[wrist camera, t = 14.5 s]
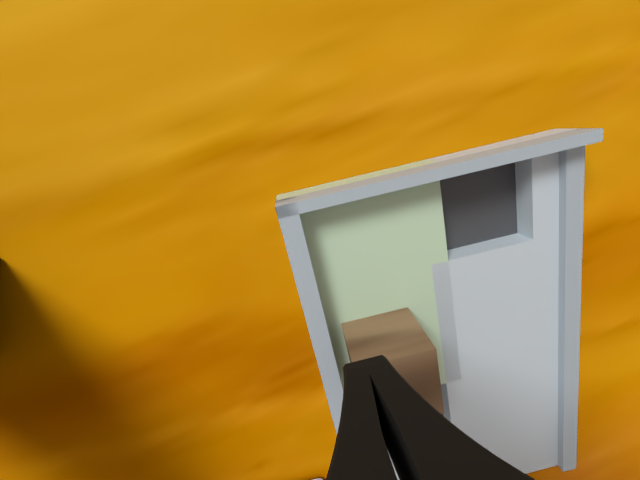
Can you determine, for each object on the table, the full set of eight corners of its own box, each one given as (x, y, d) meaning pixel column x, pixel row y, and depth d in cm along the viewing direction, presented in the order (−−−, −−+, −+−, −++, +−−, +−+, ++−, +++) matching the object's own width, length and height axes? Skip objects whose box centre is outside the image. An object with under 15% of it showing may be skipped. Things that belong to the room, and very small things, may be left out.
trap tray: (554, 443, 27) (587, 481, 24) (356, 494, 26) (365, 540, 23) (554, 128, 19) (603, 128, 16) (276, 195, 19) (275, 206, 16)
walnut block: (416, 362, 21) (444, 413, 17) (353, 378, 21) (368, 432, 17) (407, 307, 20) (436, 348, 16) (340, 323, 20) (354, 368, 16)
